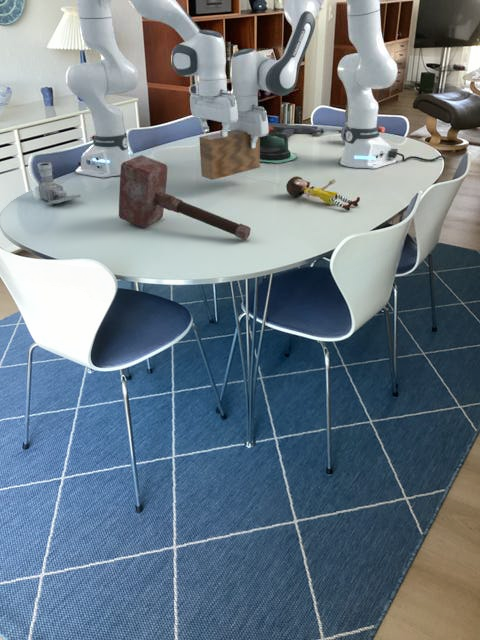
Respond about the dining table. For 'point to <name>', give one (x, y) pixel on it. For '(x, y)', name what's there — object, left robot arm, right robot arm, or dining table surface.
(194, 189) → the dining table surface
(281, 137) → the green dome on base
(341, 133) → the toy
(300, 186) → the figurine
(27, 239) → the dining table surface
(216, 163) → the box
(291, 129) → the submachine gun
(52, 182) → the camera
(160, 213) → the sledgehammer
